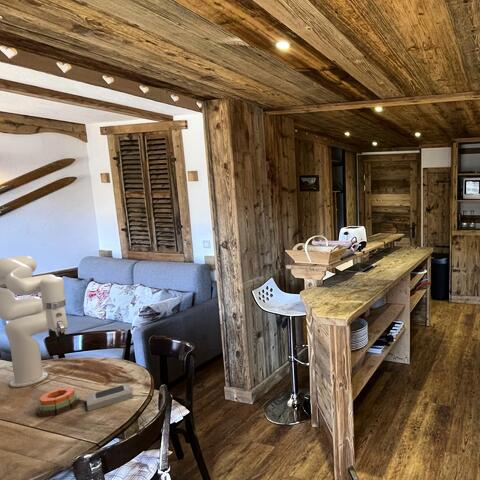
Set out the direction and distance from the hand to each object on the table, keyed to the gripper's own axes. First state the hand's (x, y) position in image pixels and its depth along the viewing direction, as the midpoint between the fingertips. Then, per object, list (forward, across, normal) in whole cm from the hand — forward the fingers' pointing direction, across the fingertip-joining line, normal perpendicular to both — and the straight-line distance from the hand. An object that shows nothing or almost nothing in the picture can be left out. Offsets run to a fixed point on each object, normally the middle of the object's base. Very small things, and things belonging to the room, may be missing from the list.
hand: (57, 340), depth 160 cm
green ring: (+22, -16, +6) cm, 28 cm away
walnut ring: (+24, -16, +6) cm, 29 cm away
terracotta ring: (+20, -16, +6) cm, 26 cm away
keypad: (+24, -27, -8) cm, 37 cm away
